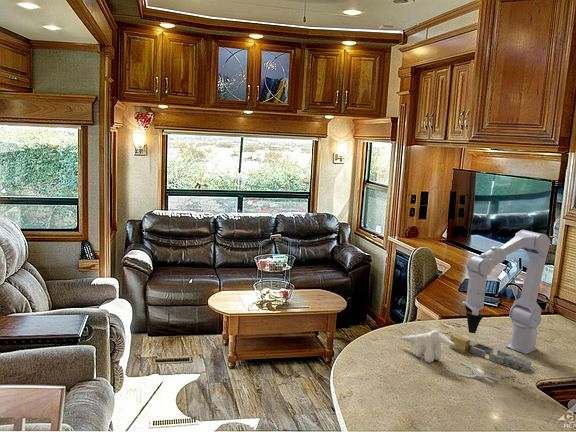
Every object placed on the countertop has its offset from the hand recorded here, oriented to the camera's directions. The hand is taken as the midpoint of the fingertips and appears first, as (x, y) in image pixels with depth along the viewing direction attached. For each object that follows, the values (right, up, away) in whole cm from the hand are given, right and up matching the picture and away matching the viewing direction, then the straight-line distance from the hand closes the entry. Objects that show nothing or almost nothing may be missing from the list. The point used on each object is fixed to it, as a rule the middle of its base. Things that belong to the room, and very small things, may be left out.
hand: (471, 329), depth 181 cm
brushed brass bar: (-2, -9, +6) cm, 11 cm away
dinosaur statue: (-18, -9, -3) cm, 20 cm away
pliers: (-5, -12, -15) cm, 20 cm away
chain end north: (+12, -11, -4) cm, 17 cm away
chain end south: (+3, -9, +7) cm, 12 cm away
